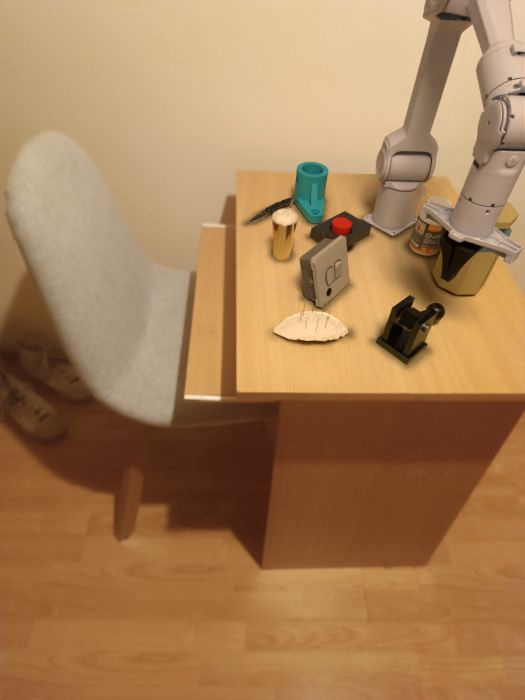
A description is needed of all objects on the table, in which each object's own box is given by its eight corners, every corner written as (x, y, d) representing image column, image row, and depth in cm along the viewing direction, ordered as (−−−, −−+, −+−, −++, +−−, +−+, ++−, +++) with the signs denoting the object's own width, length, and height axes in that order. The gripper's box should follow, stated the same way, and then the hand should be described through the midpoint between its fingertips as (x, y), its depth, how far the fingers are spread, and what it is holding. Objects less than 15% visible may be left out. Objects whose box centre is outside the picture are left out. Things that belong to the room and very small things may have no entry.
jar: (482, 304, 81) (521, 229, 70) (428, 291, 82) (459, 216, 71) (482, 273, 87) (519, 200, 76) (432, 261, 88) (461, 188, 77)
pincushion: (274, 347, 72) (277, 321, 67) (272, 320, 76) (274, 293, 71) (351, 347, 72) (358, 321, 68) (344, 319, 76) (351, 293, 72)
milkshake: (298, 249, 89) (304, 202, 81) (287, 265, 85) (293, 217, 78) (277, 243, 90) (280, 195, 83) (265, 258, 87) (268, 210, 79)
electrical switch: (320, 311, 78) (324, 264, 71) (295, 299, 80) (296, 253, 74) (349, 284, 83) (355, 238, 76) (325, 274, 85) (328, 228, 79)
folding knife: (250, 224, 93) (243, 219, 94) (250, 228, 94) (243, 223, 95) (295, 199, 99) (289, 195, 100) (295, 203, 100) (289, 199, 101)
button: (339, 223, 89) (341, 215, 88) (353, 231, 87) (355, 223, 86) (326, 229, 87) (328, 221, 86) (341, 238, 86) (343, 230, 84)
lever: (426, 313, 78) (435, 298, 76) (441, 323, 76) (451, 307, 75) (394, 322, 69) (404, 305, 68) (410, 333, 68) (421, 316, 66)
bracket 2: (394, 328, 76) (408, 291, 70) (425, 349, 73) (442, 313, 67) (375, 342, 73) (387, 306, 68) (406, 364, 70) (422, 328, 65)
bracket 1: (320, 192, 103) (325, 161, 98) (331, 223, 95) (337, 191, 90) (291, 193, 102) (294, 161, 97) (299, 223, 95) (303, 191, 89)
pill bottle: (421, 260, 88) (438, 213, 81) (402, 243, 92) (417, 198, 84) (444, 252, 90) (462, 207, 83) (424, 237, 94) (440, 191, 86)
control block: (343, 220, 97) (346, 202, 94) (376, 239, 92) (380, 221, 89) (305, 239, 91) (307, 221, 88) (338, 261, 87) (342, 243, 84)
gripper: (419, 182, 62) (393, 264, 72) (521, 232, 55) (476, 314, 65) (448, 167, 65) (419, 247, 75) (547, 211, 58) (501, 293, 69)
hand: (447, 277), depth 71 cm, fingers closed
